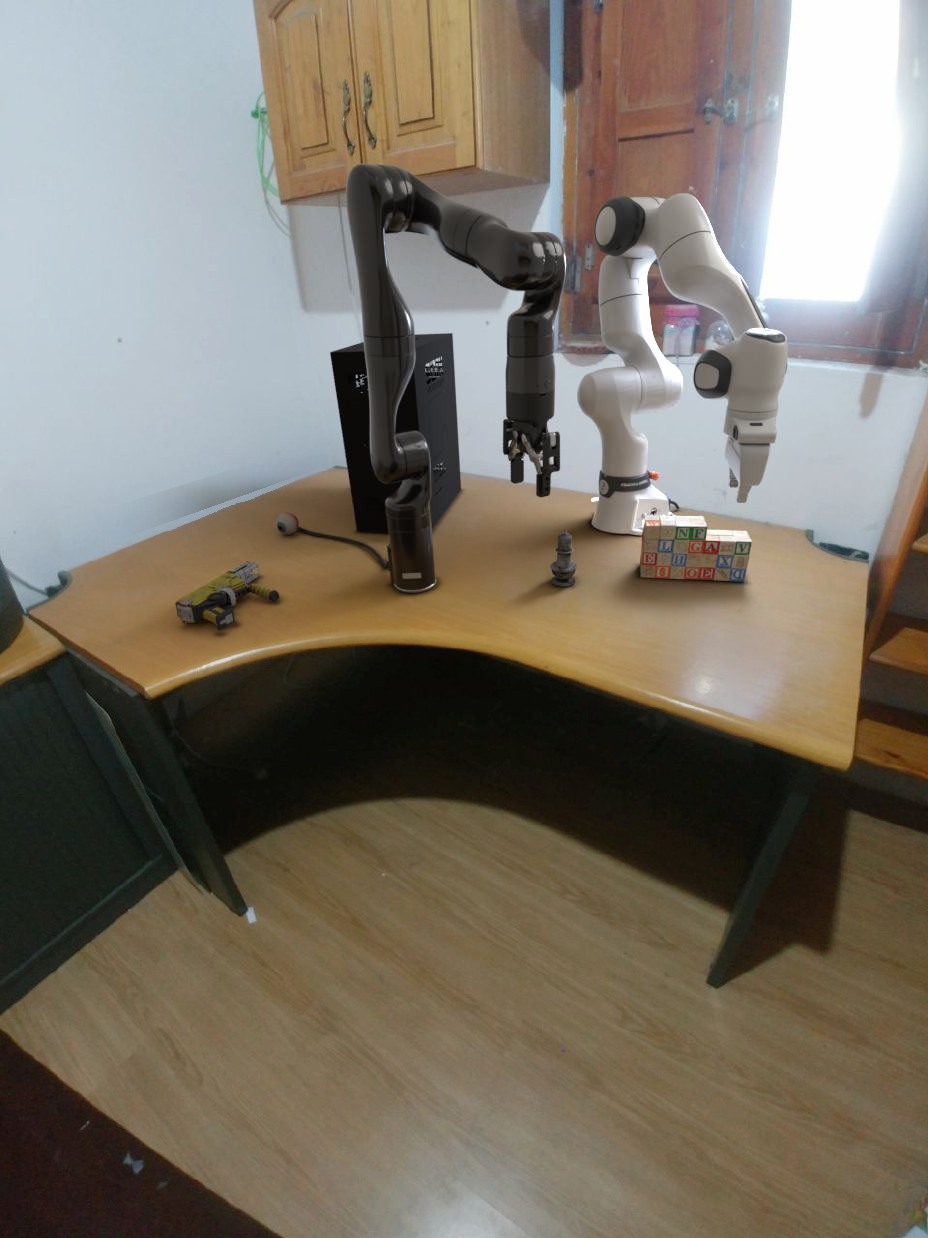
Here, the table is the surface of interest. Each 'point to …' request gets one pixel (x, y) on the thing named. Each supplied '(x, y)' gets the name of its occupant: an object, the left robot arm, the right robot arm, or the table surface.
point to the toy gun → (222, 597)
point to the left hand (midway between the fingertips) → (529, 489)
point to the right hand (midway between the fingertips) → (736, 493)
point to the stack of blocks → (692, 550)
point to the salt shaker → (563, 562)
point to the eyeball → (287, 523)
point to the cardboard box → (400, 426)
